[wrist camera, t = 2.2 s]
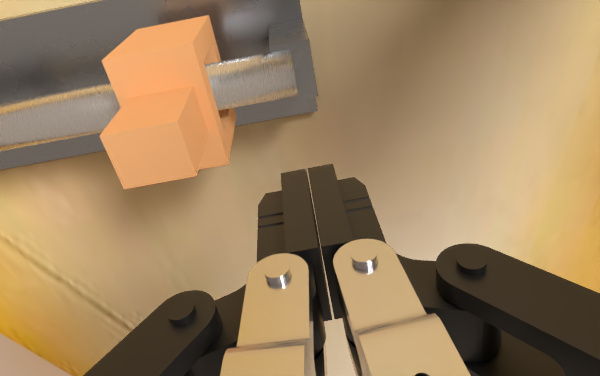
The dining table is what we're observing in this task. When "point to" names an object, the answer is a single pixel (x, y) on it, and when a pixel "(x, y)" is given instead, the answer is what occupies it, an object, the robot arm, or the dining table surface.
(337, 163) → the dining table surface
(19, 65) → the pipe stand
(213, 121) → the collar
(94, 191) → the dining table surface
